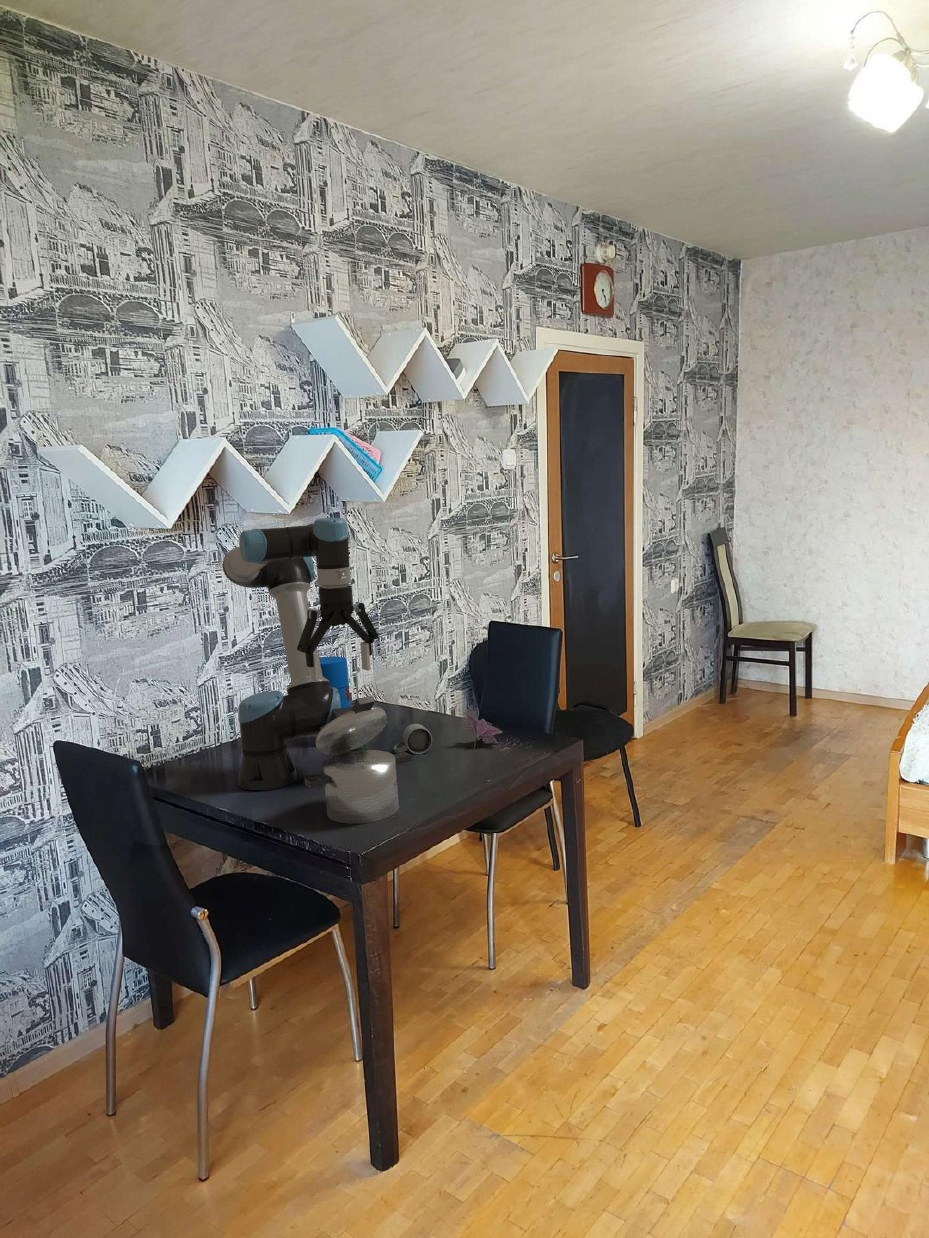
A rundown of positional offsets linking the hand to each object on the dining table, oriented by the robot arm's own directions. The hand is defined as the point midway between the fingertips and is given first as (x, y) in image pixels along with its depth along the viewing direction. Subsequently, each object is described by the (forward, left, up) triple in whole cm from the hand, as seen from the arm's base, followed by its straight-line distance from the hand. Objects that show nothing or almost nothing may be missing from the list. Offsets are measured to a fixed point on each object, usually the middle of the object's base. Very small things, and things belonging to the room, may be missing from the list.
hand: (341, 675), depth 207 cm
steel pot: (+4, +1, -33) cm, 33 cm away
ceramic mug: (-26, +34, -33) cm, 54 cm away
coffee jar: (-20, +11, -33) cm, 40 cm away
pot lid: (+3, +1, -13) cm, 13 cm away
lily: (-16, +51, -33) cm, 63 cm away
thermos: (-52, +22, -33) cm, 66 cm away
